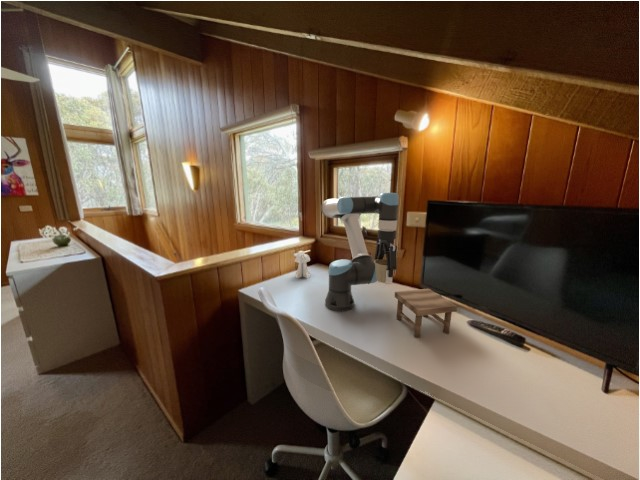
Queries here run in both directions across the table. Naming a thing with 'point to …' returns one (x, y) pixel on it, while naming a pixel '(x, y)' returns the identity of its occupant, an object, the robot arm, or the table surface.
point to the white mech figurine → (302, 264)
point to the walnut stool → (424, 308)
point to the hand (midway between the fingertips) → (383, 279)
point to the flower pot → (381, 269)
